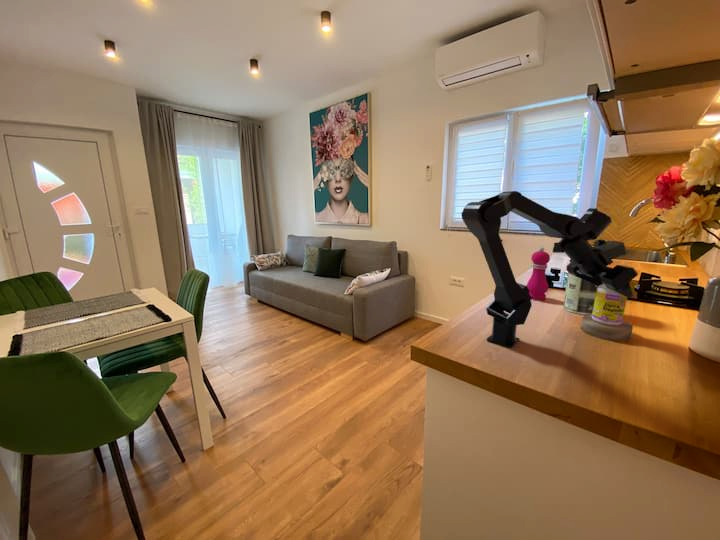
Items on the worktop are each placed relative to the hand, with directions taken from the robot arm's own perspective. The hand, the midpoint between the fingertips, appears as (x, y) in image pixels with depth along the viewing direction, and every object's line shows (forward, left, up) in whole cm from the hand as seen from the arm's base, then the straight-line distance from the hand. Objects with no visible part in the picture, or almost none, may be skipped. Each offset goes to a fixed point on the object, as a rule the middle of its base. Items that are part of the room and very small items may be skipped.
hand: (616, 291), depth 82 cm
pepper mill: (+20, +25, -12) cm, 34 cm away
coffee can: (+16, +10, -12) cm, 22 cm away
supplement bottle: (-1, +1, -9) cm, 9 cm away
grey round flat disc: (-1, +1, -12) cm, 13 cm away
